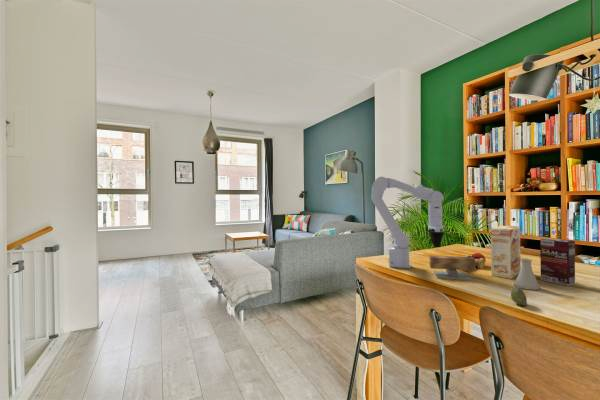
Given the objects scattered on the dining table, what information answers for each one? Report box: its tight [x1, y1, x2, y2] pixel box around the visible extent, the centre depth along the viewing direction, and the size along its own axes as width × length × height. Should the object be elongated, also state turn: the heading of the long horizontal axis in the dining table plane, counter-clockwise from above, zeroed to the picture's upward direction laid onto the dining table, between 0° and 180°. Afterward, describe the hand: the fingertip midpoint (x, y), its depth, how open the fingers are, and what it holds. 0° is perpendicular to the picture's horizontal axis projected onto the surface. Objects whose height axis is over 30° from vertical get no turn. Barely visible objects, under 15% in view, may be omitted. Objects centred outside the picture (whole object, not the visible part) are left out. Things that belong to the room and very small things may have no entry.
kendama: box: [462, 252, 487, 272], centre depth 125 cm, size 8×6×18 cm
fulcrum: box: [433, 269, 473, 281], centre depth 113 cm, size 12×9×3 cm
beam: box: [428, 255, 476, 271], centre depth 113 cm, size 16×4×4 cm, turn 72°
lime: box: [510, 287, 528, 307], centre depth 82 cm, size 4×5×5 cm
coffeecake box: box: [490, 225, 521, 280], centre depth 115 cm, size 15×7×20 cm, turn 129°
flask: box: [513, 257, 541, 291], centre depth 98 cm, size 7×7×10 cm
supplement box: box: [539, 237, 576, 287], centre depth 102 cm, size 9×5×16 cm, turn 23°
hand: (435, 245), depth 128 cm, fingers open, 7 cm apart
